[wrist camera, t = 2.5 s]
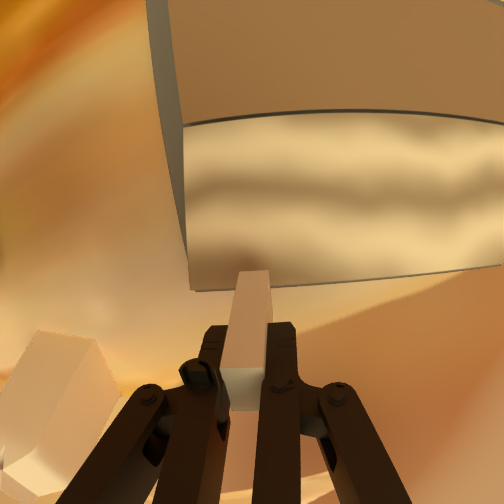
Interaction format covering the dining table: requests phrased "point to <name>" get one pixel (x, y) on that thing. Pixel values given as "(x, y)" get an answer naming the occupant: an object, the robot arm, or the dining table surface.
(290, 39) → the floor frame
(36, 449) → the milk
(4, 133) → the dining table surface
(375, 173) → the plank
